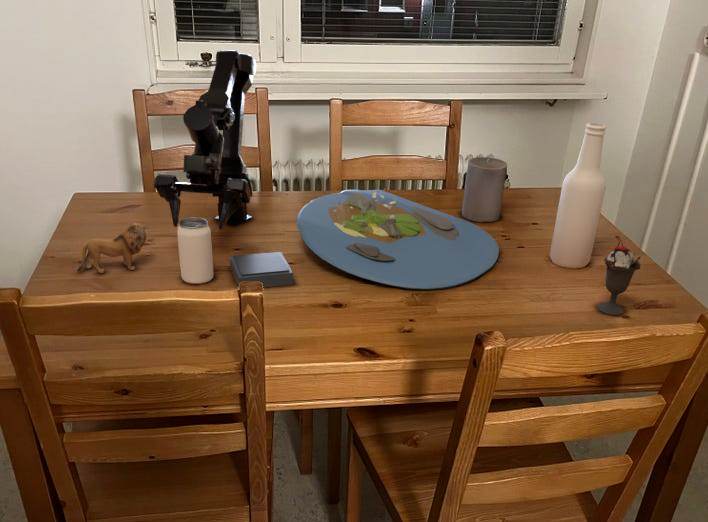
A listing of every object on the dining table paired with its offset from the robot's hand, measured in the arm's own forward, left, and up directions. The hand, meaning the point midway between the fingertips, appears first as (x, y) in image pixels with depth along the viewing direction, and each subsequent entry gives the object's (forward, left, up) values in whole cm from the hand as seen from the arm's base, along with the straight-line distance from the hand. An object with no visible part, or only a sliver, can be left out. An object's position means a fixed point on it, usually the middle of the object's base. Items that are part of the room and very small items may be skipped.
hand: (197, 227), depth 148 cm
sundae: (-41, +72, -10) cm, 84 cm away
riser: (-7, +11, -10) cm, 16 cm away
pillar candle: (-70, +27, -10) cm, 76 cm away
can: (+2, +2, -10) cm, 10 cm away
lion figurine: (+10, -15, -10) cm, 21 cm away
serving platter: (-38, +23, -10) cm, 46 cm away
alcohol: (-58, +56, -10) cm, 81 cm away
